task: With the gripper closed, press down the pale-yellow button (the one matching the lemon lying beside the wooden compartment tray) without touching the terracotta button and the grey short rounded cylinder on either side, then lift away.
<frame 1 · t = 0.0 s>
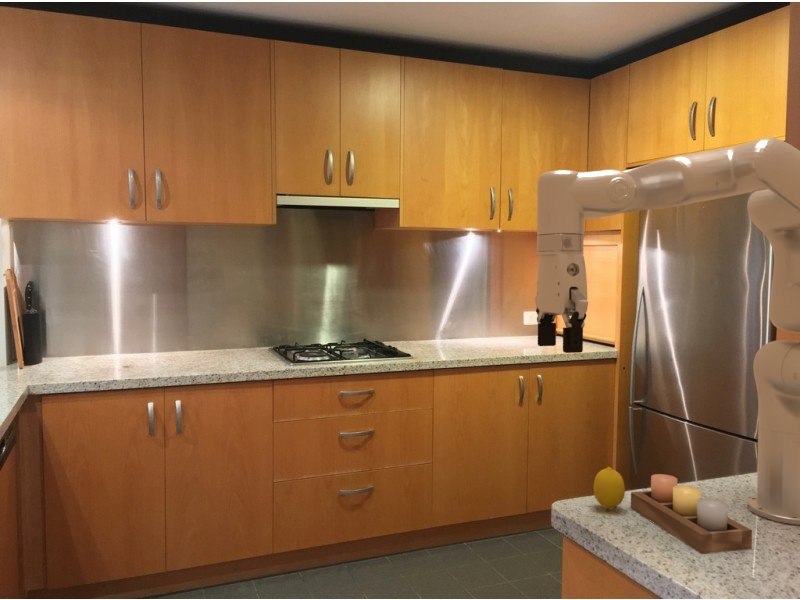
hand: (559, 349, 106), 31 cm above the countertop, tool pointing down, fingers open, 9 cm apart
lemon: (608, 510, 118), on the countertop
yellow button: (686, 502, 110), point 4 cm above the countertop, slide at 0.0 cm
terracotta button: (663, 489, 116), point 4 cm above the countertop, slide at 0.0 cm
wooden compartment tray: (686, 526, 110), on the countertop
grey short rounded cylinder: (712, 516, 103), point 4 cm above the countertop, slide at 0.0 cm
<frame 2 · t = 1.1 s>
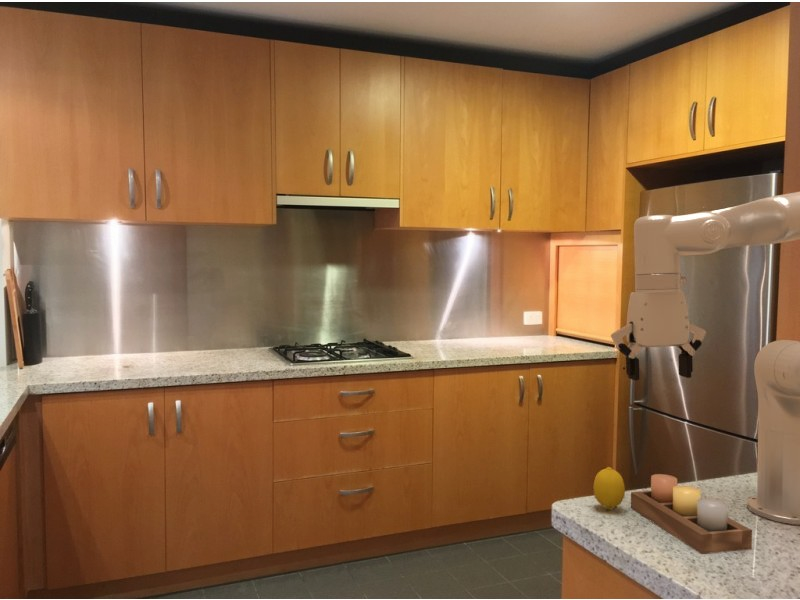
hand: (659, 377, 116), 25 cm above the countertop, tool pointing down, fingers open, 9 cm apart
nothing on the countertop moved.
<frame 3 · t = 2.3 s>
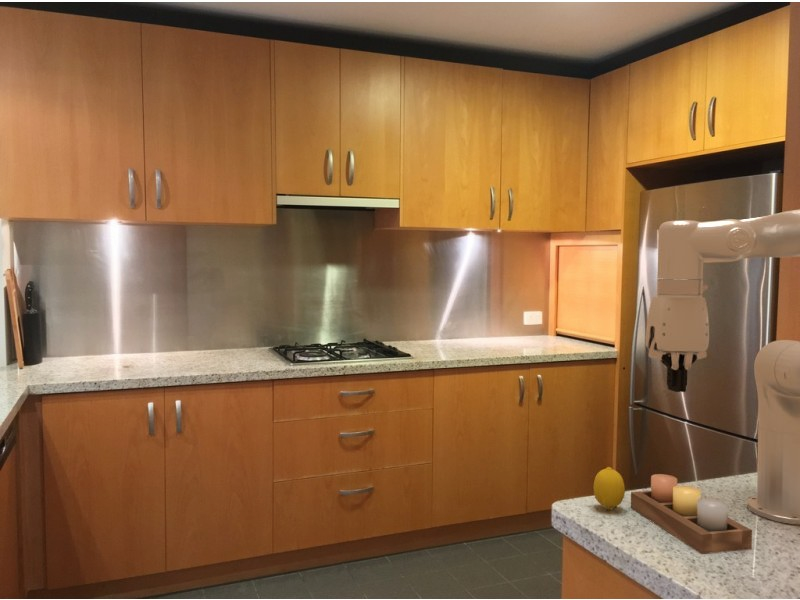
hand: (676, 390, 115), 23 cm above the countertop, tool pointing down, fingers closed
nothing on the countertop moved.
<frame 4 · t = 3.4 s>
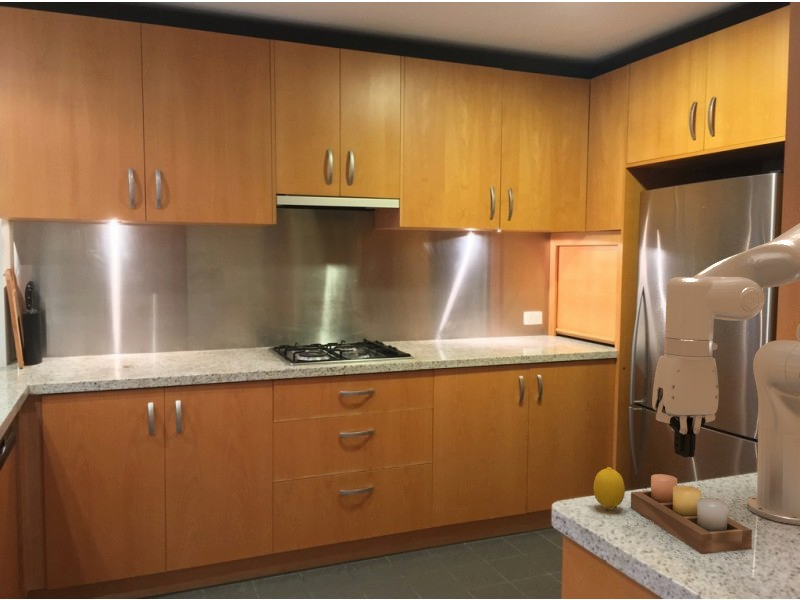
hand: (684, 455, 109), 13 cm above the countertop, tool pointing down, fingers closed
nothing on the countertop moved.
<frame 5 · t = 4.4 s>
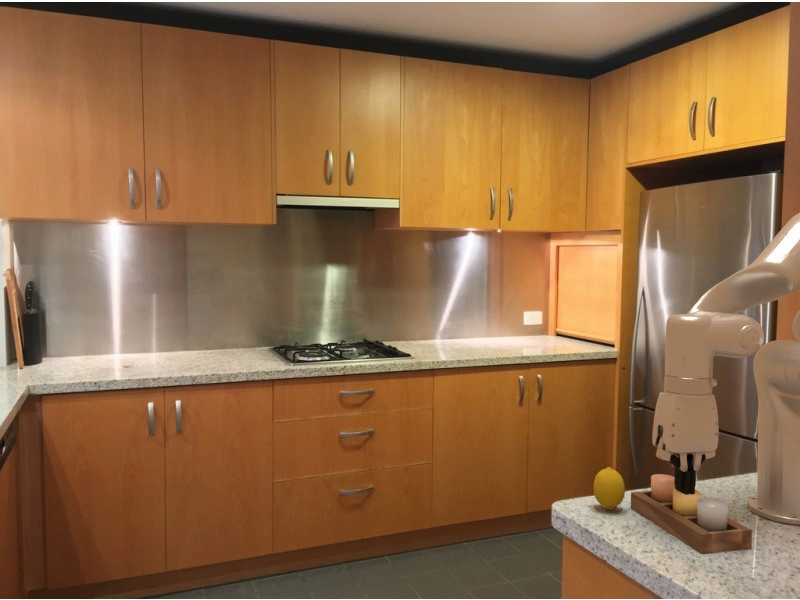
hand: (684, 491, 110), 6 cm above the countertop, tool pointing down, fingers closed
yellow button: (686, 504, 110), point 4 cm above the countertop, slide at 0.4 cm, touching gripper
everything else where it was.
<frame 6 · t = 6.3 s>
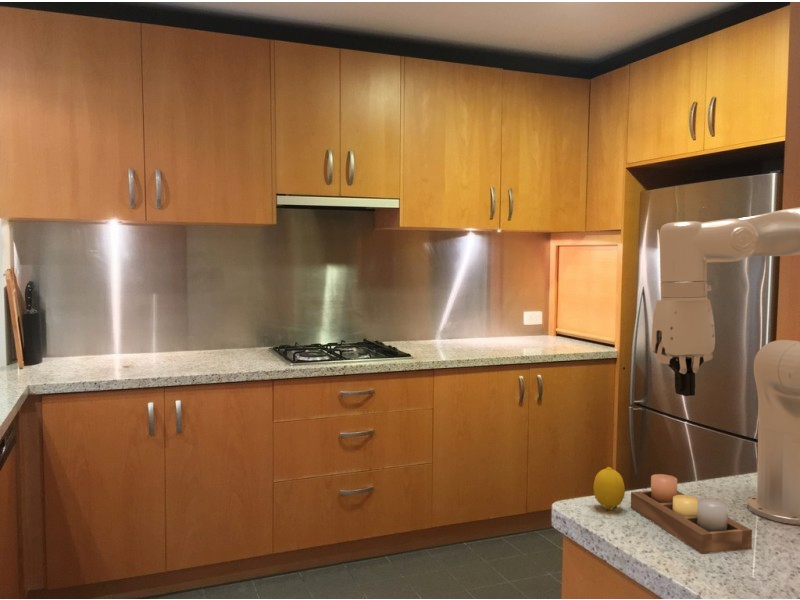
hand: (685, 394, 113), 22 cm above the countertop, tool pointing down, fingers closed
yellow button: (686, 511, 110), point 3 cm above the countertop, slide at 1.7 cm
everything else where it was.
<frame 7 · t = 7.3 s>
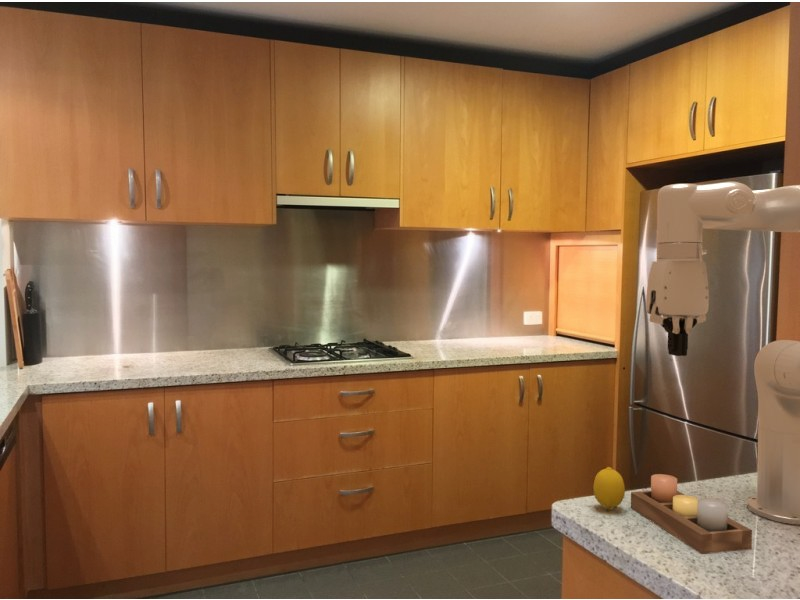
hand: (677, 354, 115), 29 cm above the countertop, tool pointing down, fingers closed
nothing on the countertop moved.
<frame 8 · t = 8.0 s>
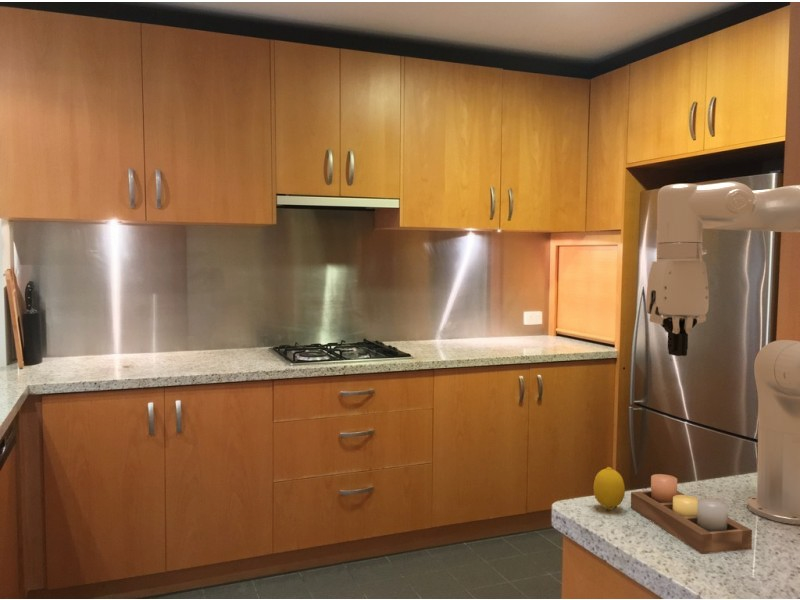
hand: (677, 354, 115), 29 cm above the countertop, tool pointing down, fingers closed
nothing on the countertop moved.
at the end: yellow button slide at 1.7 cm; terracotta button slide at 0.0 cm; grey short rounded cylinder slide at 0.0 cm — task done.
